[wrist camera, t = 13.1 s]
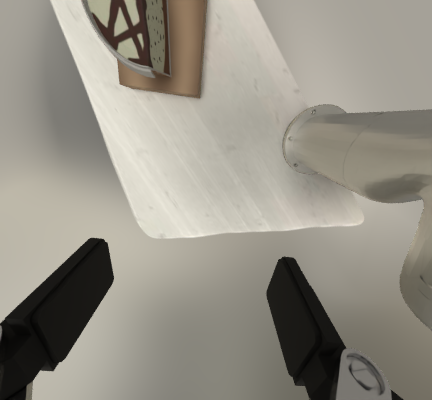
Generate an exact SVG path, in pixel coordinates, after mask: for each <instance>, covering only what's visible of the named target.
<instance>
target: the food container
mask: <svg viewBox="0 0 432 400" xmlns="http://www.w3.org/2000/svg"><path fill="white" fill-rule="evenodd" d="M81 2H82V4H83V7H84V10H85V12H86V15H87V17H88V19H89V21H90V23H91V25H92V27H93V29H94V30H95V32H96V33H97V35H98V37H99V38H100V39H101V41H102V42H103V43H104V44H105V46H106V47H107V48H108V49H109V51H110V52H111V53H112V54H113V55H114V56H115V57H116V58H117V59H118V60H119V61H120V62H121V63H122V64H124V65H125V66H126V67H128V68H129V69H130V70H132V71H134V72H136V73H138V74H141V75H143V76H146V77H151V78H155V76H154V74H153V73H152V72H154V73H157V74H159V75H162V76H165V77H171V59H170V35H169V12H168V0H81Z"/></svg>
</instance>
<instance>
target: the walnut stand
mask: <svg viewBox="0 0 432 400" xmlns="http://www.w3.org/2000/svg"><path fill="white" fill-rule="evenodd" d="M206 9H207V0H168V12H169V35H170V59H171V77H165V76H162V75H159V74H157V73H154V72H152V73H153V74H154V76H155V78H151V77H146V76H143V75H141V74H138V73H136V72H134V71H132V70H130V69H129V68H128V67H126V66H125V65H124V64H122V63H121V62H120V61H119V60H118V59H117V61H118V72H119V82H120V85H123V86H126V87H129V88H132V89H139V90H146V91H153V92H160V93H166V94H173V95H180V96H187V97H194V98H200V91H201V77H202V64H203V50H204V36H205V23H206Z"/></svg>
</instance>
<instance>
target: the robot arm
mask: <svg viewBox="0 0 432 400" xmlns="http://www.w3.org/2000/svg"><path fill="white" fill-rule="evenodd" d="M311 111H312V114H311ZM288 137H289V139H288ZM283 153H284V157H285V159H286V161H287V163H288V164H289V165H290V166H291V167H292V168H293V169H295V170H296V171H298V172H301V173H304V174H316V173H319V174H321V175H323V176H325V177H327V178H329V179H331V180H333V181H334V182H336V183H338V184H340V185H342V186H344V187H346V188H348V189H350V190H351V191H353V192H355V193H357V194H359V195H361V196H363V197H365V198H368V199H370V200H373V201H377V202H382V203H404V202H410V201H416V200H421V199H423V202H424V209H423V212H422V215H421V218H420V221H419V224H418V229H417V231H416V234H415V236H414V239H413V241H412V244H411V246H410V249H409V251H408V254H407V256H406V259H405V261H404V264H403V267H402V271H401V274H400V291H401V293H402V296H403V299H404V301H405V303H406V304H407V306H408V307H409V308H410V310H411V311H412V312H413V313H414V315H415V316H416V317H417V318H418V319H419V320H420V321H421V322H422V323H423V324H425V325H426V326H427V327H428V328H429V329H430V330H432V110H413V111H394V112H369V113H346V112H345V111H344V110H343V109H341V108H339V107H338V106H334V105H318V106H314V107H311V108H309V109H307V110H305V111H304V112H302V113H301V114H299V115H298V116H297V117H296V118H295V119H294V120H293V122H292V123H291V124H290V126H289V128H288V129H287V131H286V134H285V137H284V141H283ZM294 164H295V165H294ZM113 280H114V276H113V271H112V264H111V259H110V253H109V248H108V243H107V242H105V240H104V239H99V238H90V239H88V240H87V241H86V242H85V243H84V244H83V245H82V246H81V247H80V248H79V249H78V250H77V251H76V252H75V253H74V254H72V255H71V256H70V257H69V258H68V259H67V260H66V261H65V262H64V263H63V264H62V265H61V266H60V267H59V268H58V269H57V270H55V271H54V272H53V273H52V274H51V275H50V276H49V277H48V278H47V279H46V280H45V281H44V282H43V283H42V284H41V285H40V286H39V287H38V288H36V289H35V290H34V291H33V292H32V293H31V294H30V295H29V296H28V297H27V298H26V299H25V300H24V301H23V302H22V303H21V304H19V305H18V306H17V307H16V308H15V309H14V310H13V311H12V312H11V313H10V314H9V315H8V316H7V317H6V318H5V320H4V321H2V322H1V323H0V400H32V386H33V380H34V378H35V377H36V375H37V374H38V373H39V371H40V370H42V371H54V369H55V368H56V366H57V365H58V363H59V362H62V361H63V360H64V359H65V358H66V356H67V355H68V353H69V352H70V350H71V349H72V347H73V345H74V344H75V342H76V341H77V339H78V338H79V336H80V334H81V333H82V331H83V330H84V328H85V326H86V325H87V323H88V322H89V320H90V318H91V317H92V315H93V314H94V312H95V310H96V309H97V307H98V306H99V304H100V302H101V301H102V299H103V298H104V296H105V295H106V293H107V292H108V290H109V288H110V287H111V285H112V283H113ZM267 300H268V303H269V307H270V310H271V314H272V317H273V321H274V324H275V328H276V331H277V335H278V338H279V342H280V345H281V349H282V352H283V356H284V360H285V363H286V367H287V370H288V373H289V375H290V376H291V377H293V380H294V383H295V385H296V386H305V387H306V390H307V393H308V396H309V400H403V399H402V398H400V397H399V396H398V395H397V394H396V393H394V392H393V391H392V390H391V389H390V386H389V383H388V381H387V379H386V377H385V375H384V374H383V372H382V371H381V369H380V368H379V367H378V366H377V365H376V364H375V363H374V361H373V360H371V359H370V358H369V357H368V356H367V355H365V354H364V353H362V352H360V351H359V350H356V349H352V348H346V347H345V345H344V343H343V342H342V340H341V338H340V336H339V335H338V333H337V331H336V329H335V327H334V326H333V324H332V322H331V321H330V319H329V317H328V315H327V313H326V312H325V310H324V308H323V306H322V304H321V303H320V301H319V299H318V297H317V296H316V294H315V292H314V290H313V289H312V287H311V286H310V285H309V283H308V282H307V280H306V278H305V276H304V274H303V273H302V271H301V269H300V267H299V266H298V264H297V262H296V260H295V259H294V258H291V257H282V258H281V259H279V260H278V262H277V265H276V268H275V270H274V273H273V276H272V278H271V281H270V284H269V286H268V289H267Z"/></svg>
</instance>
